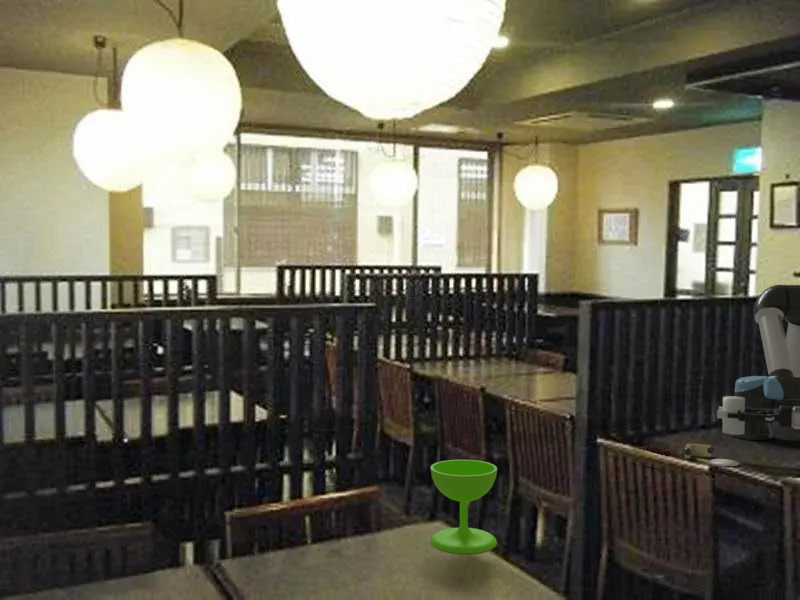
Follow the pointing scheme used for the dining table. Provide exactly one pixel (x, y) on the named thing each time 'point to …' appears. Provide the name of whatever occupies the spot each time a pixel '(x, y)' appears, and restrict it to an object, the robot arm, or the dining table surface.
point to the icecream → (655, 450)
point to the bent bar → (698, 450)
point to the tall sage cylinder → (731, 424)
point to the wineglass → (463, 503)
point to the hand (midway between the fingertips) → (718, 412)
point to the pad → (724, 462)
